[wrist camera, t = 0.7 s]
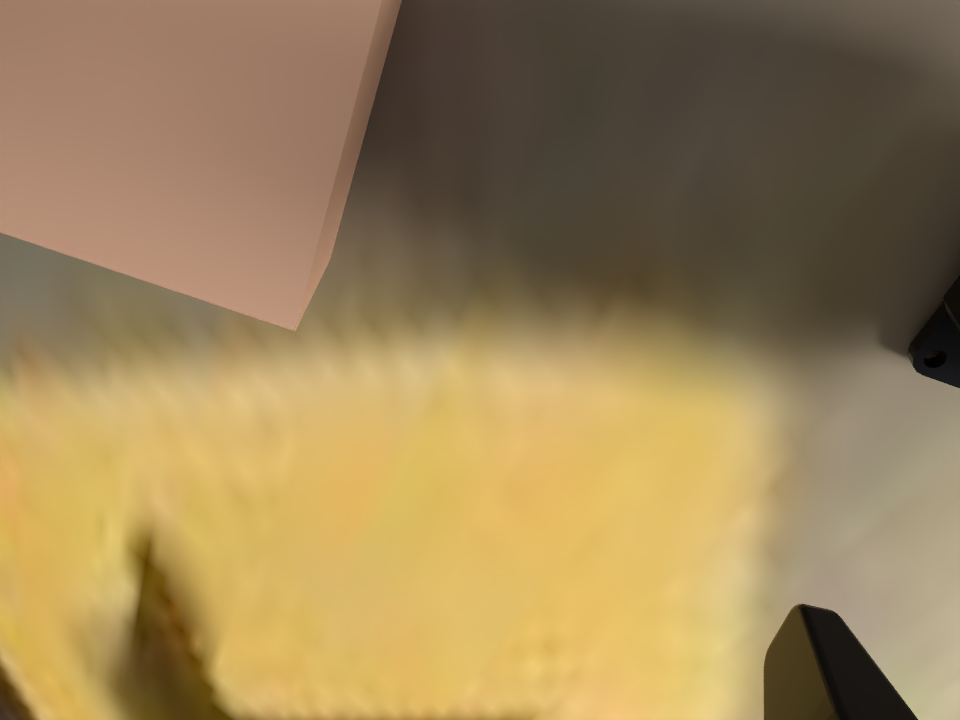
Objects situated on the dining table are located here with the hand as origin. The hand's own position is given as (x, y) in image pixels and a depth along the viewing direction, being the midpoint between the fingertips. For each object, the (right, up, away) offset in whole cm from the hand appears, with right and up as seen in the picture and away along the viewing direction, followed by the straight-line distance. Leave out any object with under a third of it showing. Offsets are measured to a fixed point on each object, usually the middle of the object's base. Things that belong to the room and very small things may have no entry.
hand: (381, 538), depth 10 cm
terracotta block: (-5, +9, +10) cm, 14 cm away
